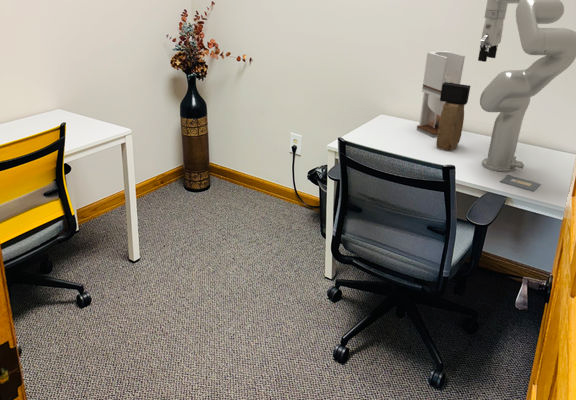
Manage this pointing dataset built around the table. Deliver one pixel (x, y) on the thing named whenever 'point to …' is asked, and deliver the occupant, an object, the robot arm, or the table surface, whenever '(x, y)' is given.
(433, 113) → the toilet paper holder
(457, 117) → the brown rounded lump
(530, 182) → the card
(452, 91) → the digital camera
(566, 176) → the table surface
